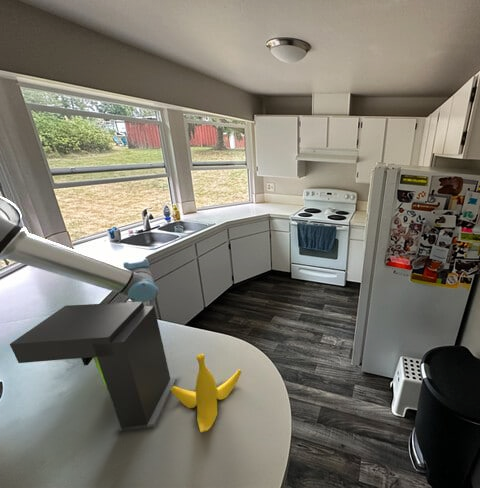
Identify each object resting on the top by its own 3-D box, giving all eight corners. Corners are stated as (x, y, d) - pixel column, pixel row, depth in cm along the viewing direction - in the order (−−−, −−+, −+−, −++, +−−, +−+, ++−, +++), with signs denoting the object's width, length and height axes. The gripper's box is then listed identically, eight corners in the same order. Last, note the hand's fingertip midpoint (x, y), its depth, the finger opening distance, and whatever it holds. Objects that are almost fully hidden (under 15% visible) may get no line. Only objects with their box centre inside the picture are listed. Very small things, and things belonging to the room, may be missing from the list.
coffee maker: (54, 439, 60) (9, 344, 51) (95, 388, 73) (65, 305, 64) (154, 427, 64) (129, 335, 54) (176, 380, 77) (159, 300, 67)
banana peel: (173, 394, 72) (162, 348, 67) (242, 376, 79) (237, 333, 73) (161, 455, 58) (146, 402, 52) (246, 427, 64) (241, 377, 59)
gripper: (166, 315, 92) (143, 363, 72) (104, 323, 87) (60, 377, 66) (162, 298, 90) (137, 341, 69) (98, 305, 85) (50, 354, 64)
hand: (99, 359), depth 68 cm, fingers closed on soap dispenser, 6 cm apart
